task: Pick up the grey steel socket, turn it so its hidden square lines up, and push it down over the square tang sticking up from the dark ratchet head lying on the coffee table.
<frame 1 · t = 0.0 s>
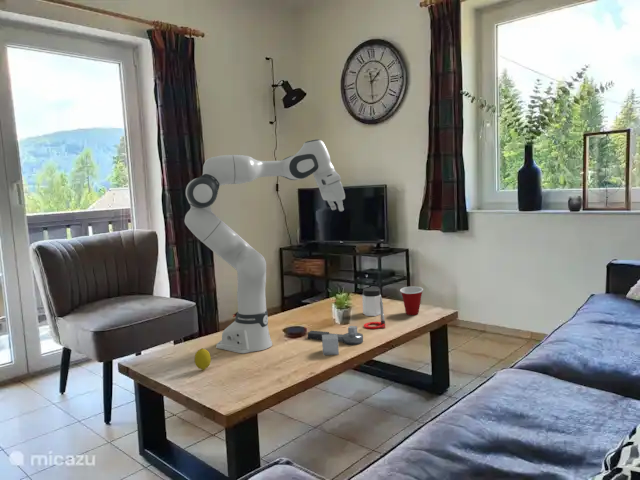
hand: (338, 210, 205), 52 cm above the table, tool tilted 20°, fingers open, 8 cm apart
plastic cup: (412, 314, 238), on the table
tow hook: (374, 327, 220), on the table
ratchet: (353, 341, 201), on the table
socket: (330, 352, 190), on the table
lemon: (203, 370, 177), on the table
jar: (372, 314, 240), on the table
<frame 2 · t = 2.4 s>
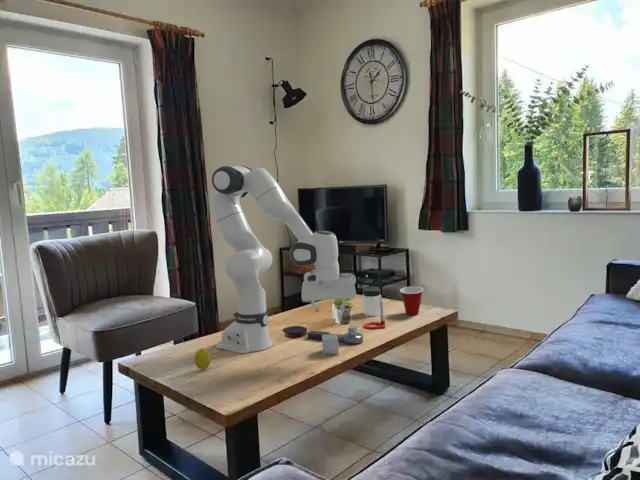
hand: (329, 310, 188), 16 cm above the table, tool pointing down, fingers open, 8 cm apart
nothing on the table moved.
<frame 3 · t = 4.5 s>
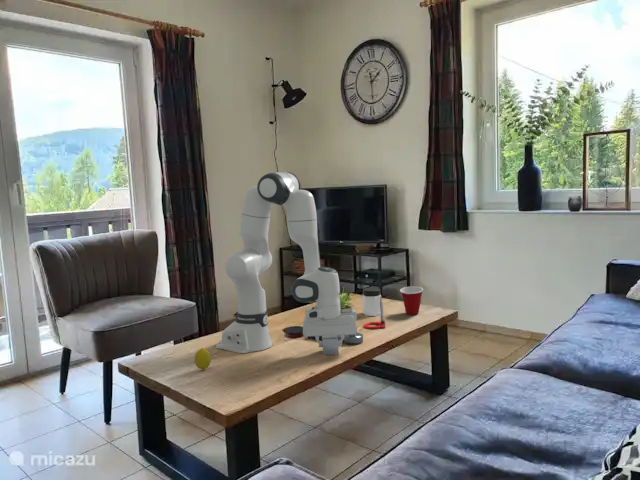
hand: (330, 346, 190), 2 cm above the table, tool pointing down, fingers closed on socket, 6 cm apart
socket: (330, 352, 190), on the table, touching gripper
everything else where it was.
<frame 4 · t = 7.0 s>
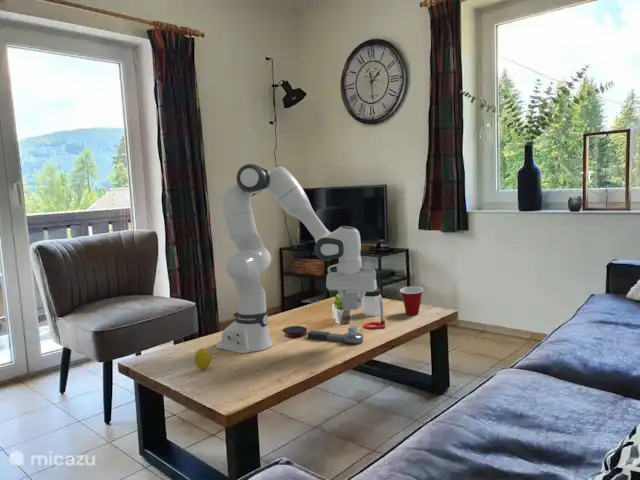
hand: (351, 301, 199), 16 cm above the table, tool pointing down, fingers closed on socket, 6 cm apart
socket: (352, 307, 199), point 14 cm above the table, touching gripper
everything else where it was.
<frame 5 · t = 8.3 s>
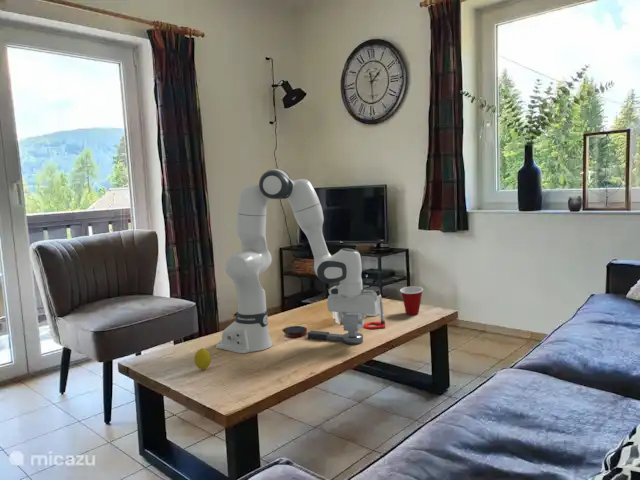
hand: (352, 323, 200), 8 cm above the table, tool pointing down, fingers closed on socket, 6 cm apart
socket: (353, 328, 200), point 5 cm above the table, touching gripper
everything else where it was.
when the fingers open (5 cm above the table, at t = 9.6 s): socket stays where it is, resting on ratchet.
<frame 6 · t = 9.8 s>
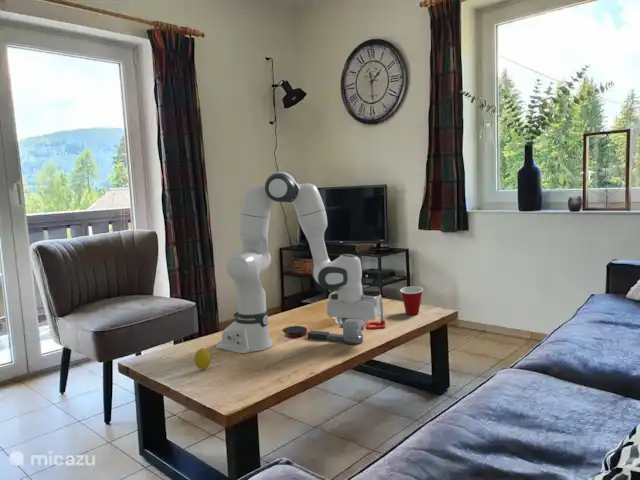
hand: (352, 328, 200), 5 cm above the table, tool pointing down, fingers open, 8 cm apart
socket: (352, 335, 201), point 2 cm above the table, touching ratchet
everything else where it was.
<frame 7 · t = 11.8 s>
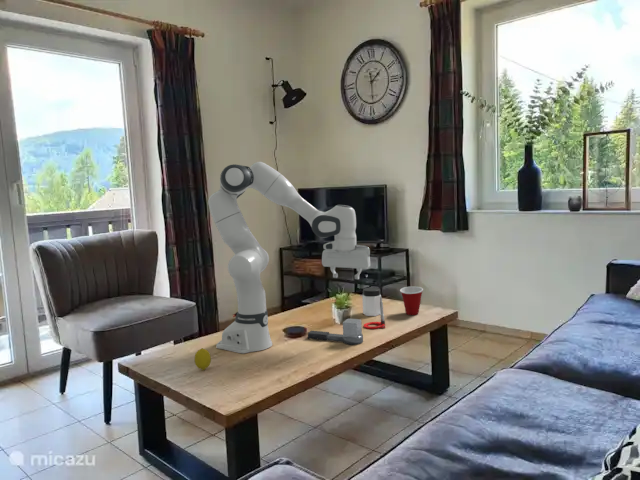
hand: (346, 278, 206), 24 cm above the table, tool pointing down, fingers open, 8 cm apart
nothing on the table moved.
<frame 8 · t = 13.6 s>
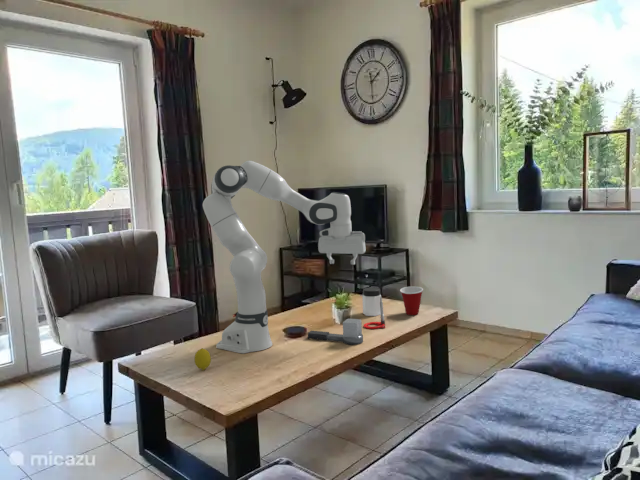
hand: (342, 264, 212), 29 cm above the table, tool pointing down, fingers open, 8 cm apart
nothing on the table moved.
at the end: socket 0.1 cm off-centre on the ratchet, point 2.5 cm above the ratchet's base; the gripper is holding nothing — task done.
